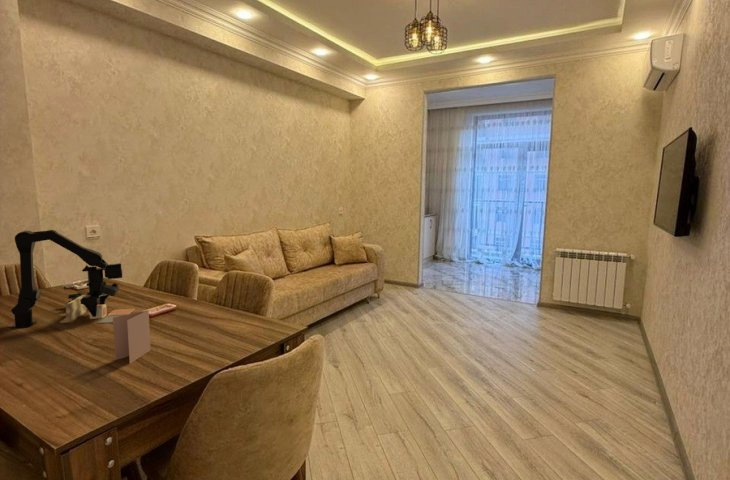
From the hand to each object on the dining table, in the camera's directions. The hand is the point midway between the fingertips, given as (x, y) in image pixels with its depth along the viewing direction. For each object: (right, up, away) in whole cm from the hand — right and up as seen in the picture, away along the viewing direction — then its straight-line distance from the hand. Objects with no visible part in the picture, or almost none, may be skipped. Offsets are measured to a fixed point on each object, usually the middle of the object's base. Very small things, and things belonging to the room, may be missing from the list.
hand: (98, 313), depth 179 cm
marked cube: (0, -1, 0) cm, 1 cm away
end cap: (-18, 0, +13) cm, 22 cm away
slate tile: (+9, -2, -4) cm, 10 cm away
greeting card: (+42, -8, -42) cm, 59 cm away
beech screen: (-10, -1, -1) cm, 10 cm away
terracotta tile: (+7, -1, +6) cm, 9 cm away
